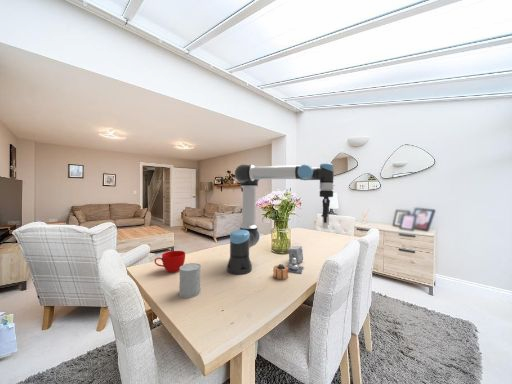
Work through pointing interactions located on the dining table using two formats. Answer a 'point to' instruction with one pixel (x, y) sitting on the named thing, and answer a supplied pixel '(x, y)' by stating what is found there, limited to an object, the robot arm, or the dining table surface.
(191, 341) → the dining table surface
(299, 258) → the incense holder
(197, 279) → the grey cylinder
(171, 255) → the ceramic cup
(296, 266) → the hub
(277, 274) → the collar
